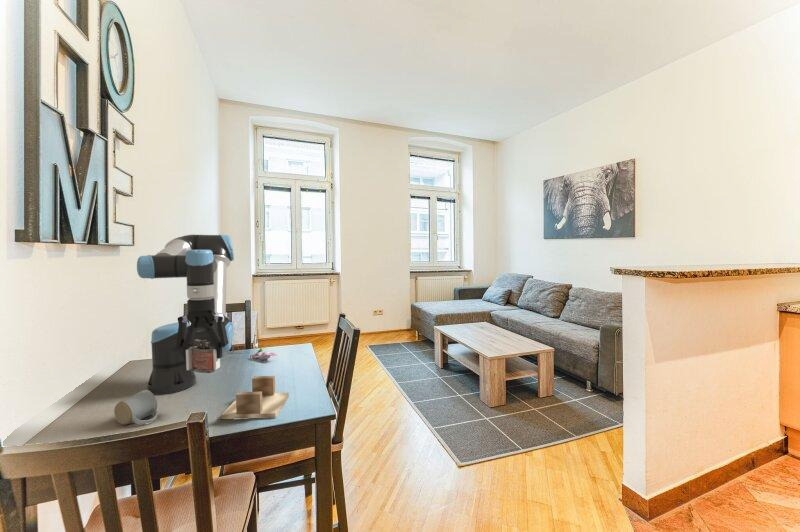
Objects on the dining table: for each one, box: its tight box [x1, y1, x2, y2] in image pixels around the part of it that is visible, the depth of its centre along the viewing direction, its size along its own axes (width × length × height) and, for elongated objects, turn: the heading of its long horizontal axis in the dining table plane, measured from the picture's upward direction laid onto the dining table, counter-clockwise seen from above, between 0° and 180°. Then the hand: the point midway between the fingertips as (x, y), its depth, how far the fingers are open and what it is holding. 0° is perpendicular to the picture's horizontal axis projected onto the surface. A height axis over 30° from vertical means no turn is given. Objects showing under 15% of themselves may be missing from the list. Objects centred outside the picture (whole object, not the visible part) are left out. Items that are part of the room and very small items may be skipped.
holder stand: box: [220, 375, 290, 420], centre depth 111 cm, size 16×15×8 cm
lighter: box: [192, 339, 216, 374], centre depth 110 cm, size 8×3×10 cm, turn 71°
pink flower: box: [249, 347, 278, 361], centre depth 160 cm, size 6×6×15 cm
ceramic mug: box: [113, 389, 158, 426], centre depth 103 cm, size 11×8×8 cm
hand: (203, 368), depth 111 cm, fingers closed on lighter, 8 cm apart
